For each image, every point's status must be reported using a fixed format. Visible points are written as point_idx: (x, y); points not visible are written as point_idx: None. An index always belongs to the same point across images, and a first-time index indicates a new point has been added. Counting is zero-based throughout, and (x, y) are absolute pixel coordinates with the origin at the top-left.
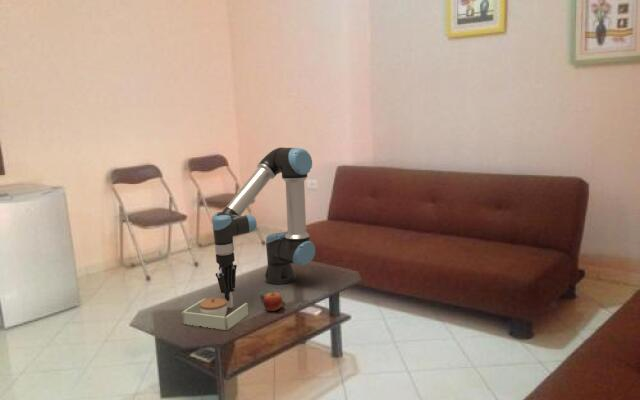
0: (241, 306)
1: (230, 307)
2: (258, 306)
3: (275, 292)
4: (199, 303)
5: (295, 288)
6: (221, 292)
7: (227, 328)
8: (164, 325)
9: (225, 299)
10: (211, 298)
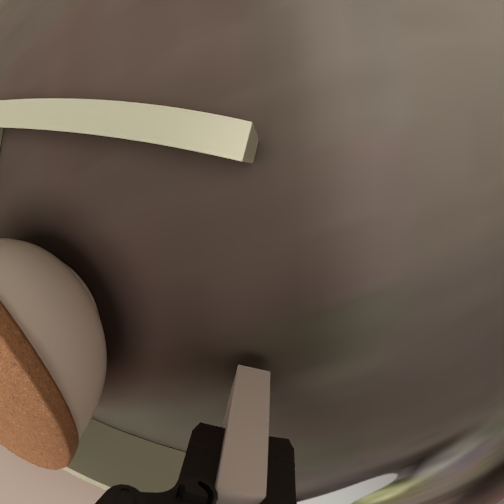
0: None
1: (228, 398)
2: (310, 475)
3: None
4: (78, 131)
5: (471, 482)
6: (110, 491)
7: None
8: (2, 27)
9: (56, 468)
10: (1, 363)
